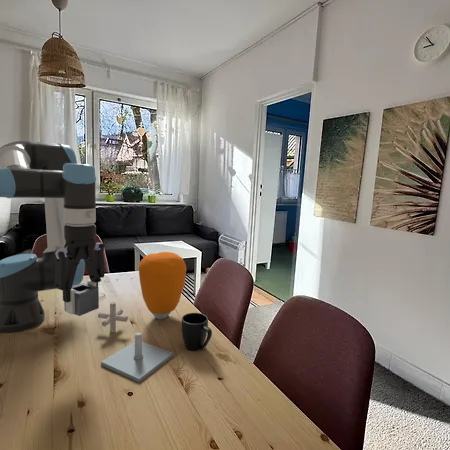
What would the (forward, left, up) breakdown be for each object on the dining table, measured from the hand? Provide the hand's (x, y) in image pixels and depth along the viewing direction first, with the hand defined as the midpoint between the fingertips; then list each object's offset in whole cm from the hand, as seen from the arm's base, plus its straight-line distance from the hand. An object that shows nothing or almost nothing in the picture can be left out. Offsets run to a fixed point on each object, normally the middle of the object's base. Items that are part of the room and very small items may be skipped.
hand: (81, 307), depth 83 cm
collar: (0, 0, 0) cm, 0 cm away
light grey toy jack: (-7, +17, -16) cm, 24 cm away
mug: (+23, +23, -16) cm, 36 cm away
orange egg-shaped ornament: (0, +34, -16) cm, 38 cm away
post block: (+12, +9, -16) cm, 22 cm away
